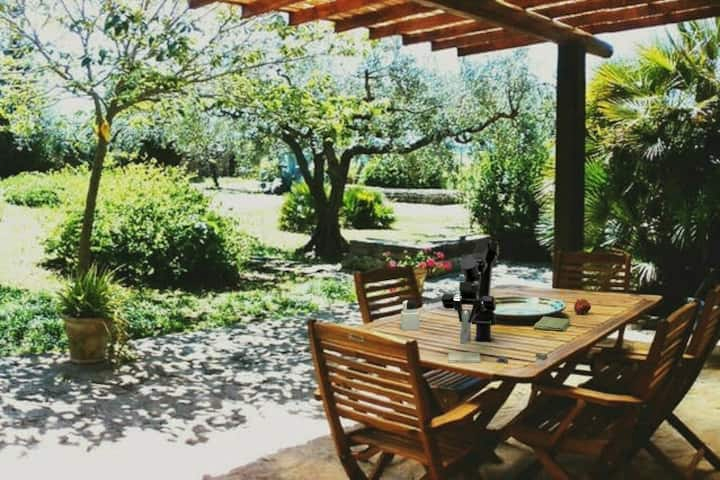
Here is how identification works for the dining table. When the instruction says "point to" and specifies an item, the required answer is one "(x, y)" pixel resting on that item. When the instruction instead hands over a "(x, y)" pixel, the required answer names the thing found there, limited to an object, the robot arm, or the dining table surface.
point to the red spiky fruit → (582, 306)
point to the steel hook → (465, 327)
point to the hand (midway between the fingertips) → (465, 322)
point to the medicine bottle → (410, 316)
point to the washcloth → (552, 324)
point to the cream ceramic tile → (464, 357)
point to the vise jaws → (502, 359)
